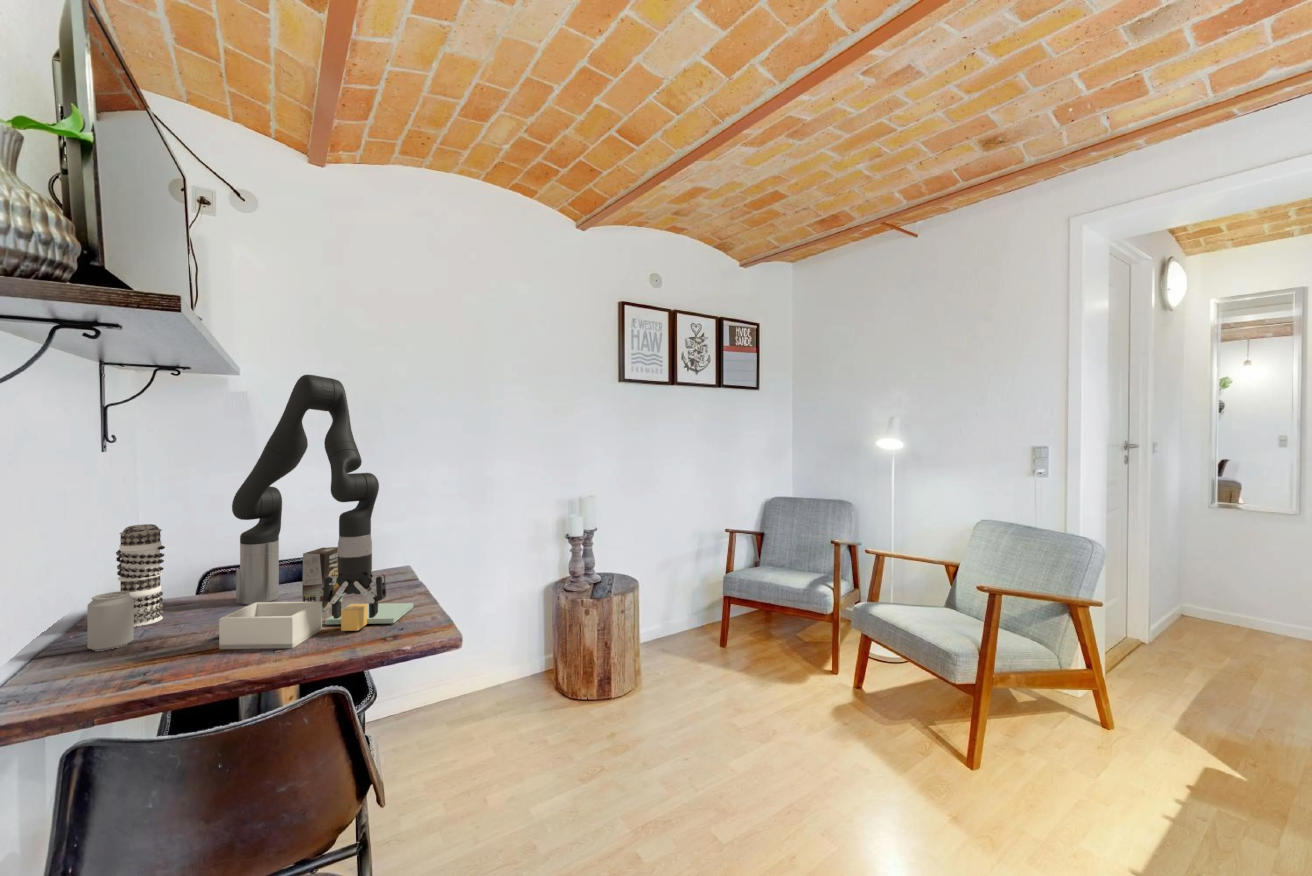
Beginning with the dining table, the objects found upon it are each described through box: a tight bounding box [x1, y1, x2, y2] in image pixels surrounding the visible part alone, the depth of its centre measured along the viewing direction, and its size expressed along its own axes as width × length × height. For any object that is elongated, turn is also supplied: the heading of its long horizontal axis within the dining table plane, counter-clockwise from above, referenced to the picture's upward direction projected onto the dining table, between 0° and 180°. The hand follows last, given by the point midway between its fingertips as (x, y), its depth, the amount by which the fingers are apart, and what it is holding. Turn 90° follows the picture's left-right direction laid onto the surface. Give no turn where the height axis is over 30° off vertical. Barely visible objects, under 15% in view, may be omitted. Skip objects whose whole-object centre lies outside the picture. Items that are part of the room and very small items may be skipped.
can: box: [86, 590, 135, 651], centre depth 124 cm, size 8×8×12 cm
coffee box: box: [301, 546, 344, 612], centre depth 154 cm, size 9×6×16 cm
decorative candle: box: [115, 523, 166, 628], centre depth 141 cm, size 9×9×25 cm
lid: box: [324, 602, 414, 632], centre depth 142 cm, size 17×18×6 cm
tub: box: [218, 601, 323, 650], centre depth 129 cm, size 16×12×7 cm
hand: (354, 617), depth 136 cm, fingers open, 8 cm apart
